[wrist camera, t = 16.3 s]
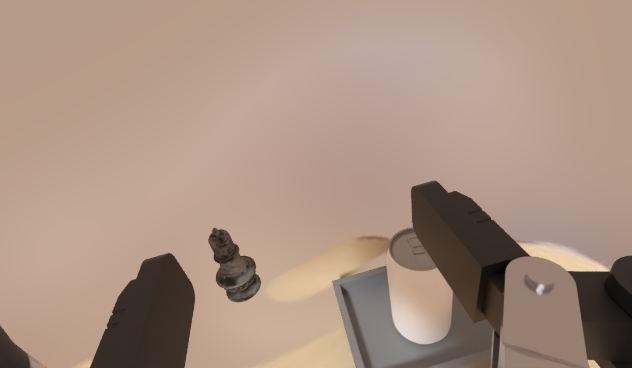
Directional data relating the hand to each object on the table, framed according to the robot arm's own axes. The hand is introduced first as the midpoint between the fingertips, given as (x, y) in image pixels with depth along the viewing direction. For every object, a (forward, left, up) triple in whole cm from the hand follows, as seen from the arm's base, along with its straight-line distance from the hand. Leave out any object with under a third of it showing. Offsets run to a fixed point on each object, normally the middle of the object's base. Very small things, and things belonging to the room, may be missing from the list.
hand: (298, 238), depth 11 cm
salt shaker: (-12, +26, -30) cm, 41 cm away
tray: (+10, +13, -30) cm, 34 cm away
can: (+10, +13, -29) cm, 33 cm away
